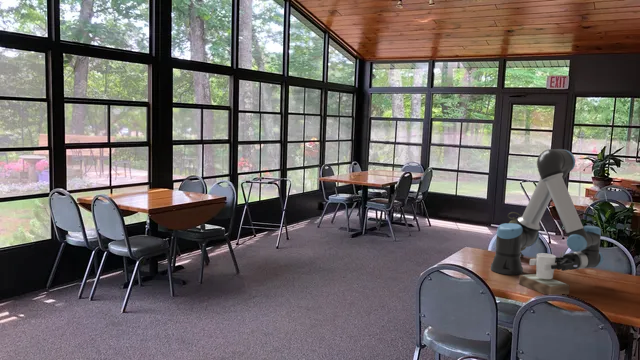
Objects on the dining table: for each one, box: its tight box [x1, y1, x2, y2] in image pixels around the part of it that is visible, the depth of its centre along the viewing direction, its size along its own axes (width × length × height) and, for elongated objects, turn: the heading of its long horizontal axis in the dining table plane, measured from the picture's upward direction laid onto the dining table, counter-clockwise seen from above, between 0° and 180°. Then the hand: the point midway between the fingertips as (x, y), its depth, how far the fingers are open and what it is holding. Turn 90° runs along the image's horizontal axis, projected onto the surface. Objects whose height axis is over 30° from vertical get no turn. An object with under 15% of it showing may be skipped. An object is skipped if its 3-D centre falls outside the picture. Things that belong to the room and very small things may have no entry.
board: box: [518, 273, 571, 295], centre depth 232 cm, size 18×11×4 cm, turn 24°
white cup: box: [535, 252, 557, 279], centre depth 231 cm, size 8×8×10 cm
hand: (537, 264), depth 229 cm, fingers closed on white cup, 7 cm apart
